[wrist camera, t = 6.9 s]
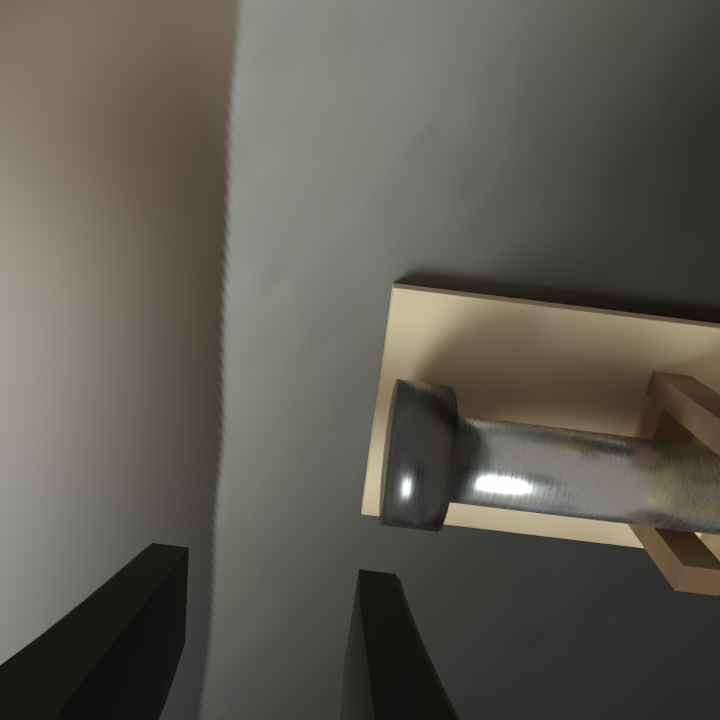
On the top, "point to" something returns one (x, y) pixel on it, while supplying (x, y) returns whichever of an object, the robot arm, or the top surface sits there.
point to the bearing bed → (561, 396)
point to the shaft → (536, 469)
